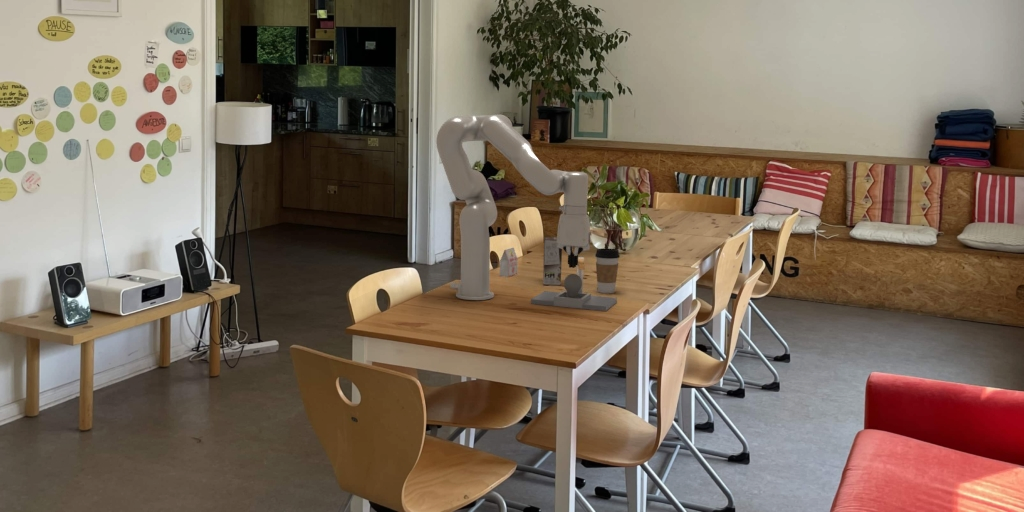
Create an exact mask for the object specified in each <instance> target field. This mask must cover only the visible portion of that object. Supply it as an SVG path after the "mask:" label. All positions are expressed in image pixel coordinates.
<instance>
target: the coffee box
mask: <svg viewBox="0 0 1024 512" xmlns="http://www.w3.org/2000/svg"><path fill="white" fill-rule="evenodd" d="M557 245H558V243H557V236H544V237H543V266H542V267H543V269H542V271H543V272H542V273H543V275H542V279H543V282H542V283H543V285H551V286H552V285H553V286H560V285H561V283H562V262H563V261H562V255H563V254H562V253H563V249H561V248H558V247H557Z"/></svg>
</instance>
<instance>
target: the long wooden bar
mask: <svg viewBox="0 0 1024 512" xmlns="http://www.w3.org/2000/svg"><path fill="white" fill-rule="evenodd" d="M585 266H586V265H585V257H582V256H580V257H579V256H578V268H579V270H583V271H584V270H585Z"/></svg>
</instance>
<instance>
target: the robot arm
mask: <svg viewBox="0 0 1024 512" xmlns="http://www.w3.org/2000/svg"><path fill="white" fill-rule="evenodd" d="M480 141H481V142H484V141H485V142H489V143H490V144H491V145H492V146H493V147H494V148H495V149H496V150H497V151H499V152H500V154H502V155H503V156H504V157H505V158H506V159H507V160H508V161H509V162H510V163H511V164H512V165H513V167H515V169H516V170H517V171H518V173H519V174H520V175H521V176H522V177H523V178H524V179H525V180H526V182H528V183H529V184H530V185H531V186H532V187H534V188H535V190H537V191H538V192H539V193H541V194H543V195H545V196H552V195H555V194H558V193H563V204H562V205H559V206H558V210H559V211H561V212H562V213H560V216H559V220H558V226H557V234H556V237H557V243H558V245H557V247H558V248H561V249H562V250H564V252H565V253H566V255H567V265H568V268H572V269H574V268H577V265H578V257H579V255H580V254H581V253H582V252H586V251H589V250H591V247H590V244H591V224H590V223H591V222H590V216H589V215H588V212H587V211H588V191H589V175H588V174H587V172H584V171H583V172H582V171H565V170H559V169H549V168H548V167H547V166H546V165H545V164H544V163H543V162H542V161H540V159H539V158H538V157H537V156H536V154H535V153H534V151H533V147H532V144H531V143H530V142H529V141H528V140H527V139H526V138H525V137H524V136H523V135H521V134H520V132H518V131H517V130H516V129H515V128H513V123H512V121H511V120H510V118H508V117H507V116H506V115H503V114H489V115H488V114H487V115H457V116H453V117H451V118H449V119H447V120H446V121H444V122H443V124H442V125H441V126H440V128H439V129H438V131H437V134H436V141H435V142H436V149H437V152H438V155H439V157H440V161H441V163H442V167H443V169H444V172H445V175H446V178H447V181H448V183H449V186H450V189H451V192H452V193H453V195H454V197H456V198H457V199H458V200H461V201H465V203H466V205H465V206H464V207H463V208H462V210H461V212H460V214H459V222H458V223H459V229H460V282H450V284H449V288H450V289H451V290H457V291H456V292H455V296H456V298H458V299H461V300H465V301H485V300H491V299H493V298H494V297H495V294H494V292H493V291H490V267H491V265H490V260H491V259H490V258H491V254H490V253H491V252H490V251H491V249H490V248H491V247H490V246H491V242H490V241H491V240H490V232H489V227H491V226H492V225H494V223H495V222H496V220H497V219H498V208H497V205H496V203H495V200H494V197H493V194H492V192H491V189H490V186H489V184H488V182H487V180H486V177H485V176H484V174H483V173H482V172H481V171H478V170H477V169H473V168H472V166H471V164H470V161H469V157H468V155H467V153H466V151H465V149H464V147H463V143H465V142H480ZM573 247H574V250H573Z"/></svg>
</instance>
